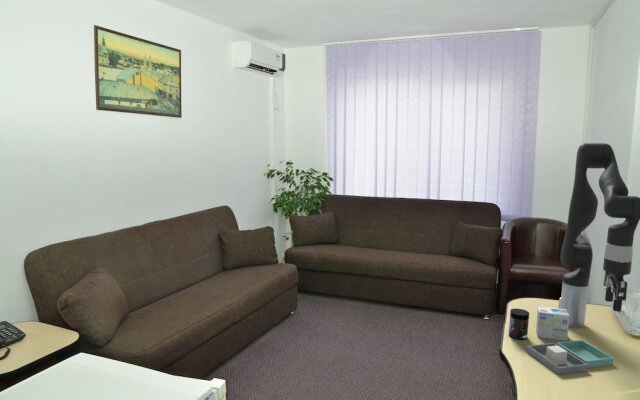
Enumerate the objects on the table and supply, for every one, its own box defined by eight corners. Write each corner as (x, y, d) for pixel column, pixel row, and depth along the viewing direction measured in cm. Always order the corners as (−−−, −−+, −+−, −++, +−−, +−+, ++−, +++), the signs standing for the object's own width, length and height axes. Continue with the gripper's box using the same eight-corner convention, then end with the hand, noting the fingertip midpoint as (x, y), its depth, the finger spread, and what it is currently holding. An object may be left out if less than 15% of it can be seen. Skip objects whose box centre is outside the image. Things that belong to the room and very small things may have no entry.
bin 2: (555, 350, 170) (556, 342, 169) (581, 347, 172) (582, 339, 172) (585, 369, 156) (586, 361, 156) (613, 366, 159) (613, 357, 158)
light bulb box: (564, 335, 182) (567, 309, 181) (567, 342, 176) (570, 315, 174) (534, 331, 186) (536, 305, 184) (536, 338, 179) (538, 311, 178)
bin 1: (526, 353, 167) (527, 345, 167) (553, 350, 170) (553, 342, 169) (558, 376, 152) (559, 368, 151) (587, 373, 154) (588, 364, 154)
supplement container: (514, 332, 185) (516, 307, 183) (531, 338, 179) (533, 312, 177) (504, 336, 181) (506, 310, 179) (520, 343, 175) (522, 316, 174)
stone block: (545, 358, 162) (546, 346, 162) (556, 357, 163) (558, 345, 163) (554, 365, 158) (555, 352, 157) (566, 363, 159) (567, 351, 158)
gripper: (598, 251, 158) (593, 297, 161) (611, 262, 144) (606, 312, 147) (624, 253, 156) (618, 299, 158) (639, 265, 142) (633, 315, 145)
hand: (612, 306), depth 153 cm, fingers open, 8 cm apart
